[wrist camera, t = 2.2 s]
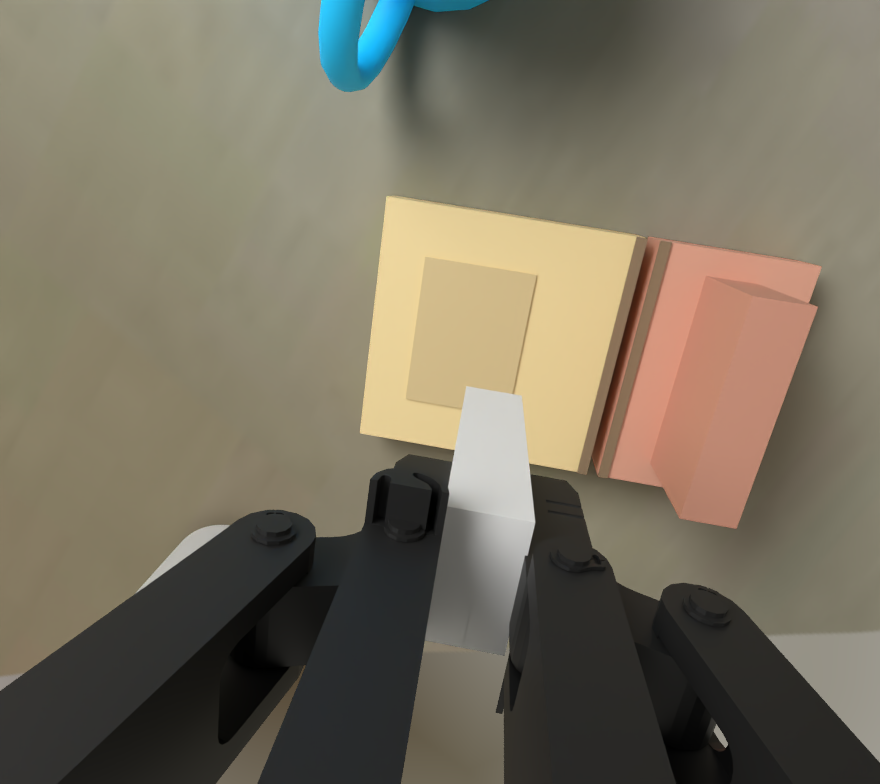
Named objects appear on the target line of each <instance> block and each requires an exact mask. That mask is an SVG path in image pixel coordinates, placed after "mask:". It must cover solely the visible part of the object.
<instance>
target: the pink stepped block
mask: <svg viewBox="0 0 880 784" xmlns="http://www.w3.org/2000/svg"><path fill="white" fill-rule="evenodd" d="M821 268H822V266H818V265H814V264H810V263H806V262H802V261H798V260H792V259H786V258H780V257H773V256H767V255H761V254H755V253H749V252H742V251H736V250H730V249H724V248H717V247H711V246H705V245H699V244H693V243H686V242H680V241H674V240H668V239H662V238H655V237H649V236H648V241H647V244H646V248H645V252H644V256H643V260H642V264H641V267H640V271H639V275H638V279H637V283H636V287H635V291H634V294H633V298H632V302H631V306H630V310H629V314H628V317H627V321H626V325H625V329H624V333H623V337H622V341H621V344H620V348H619V352H618V356H617V360H616V364H615V367H614V371H613V375H612V379H611V383H610V387H609V391H608V394H607V398H606V402H605V406H604V410H603V414H602V418H601V421H600V425H599V429H598V433H597V437H596V441H595V444H594V448H593V452H592V456H591V457H592V460H593V463H594V466H595V469H596V472H597V475H598V477H601V478H614V479H619V480H625V481H630V482H636V483H642V484H647V485H653V486H658V487H663V488H664V490H665V492H666V494H667V496H668V498H669V499H670V501H671V503H672V505H673V507H674V509H675V511H676V512H677V514H678V516H679V518H680V519H685V520H691V521H696V522H702V523H707V524H713V525H718V526H724V527H729V528H735V529H737V526H738V524H739V521H740V518H741V515H742V513H743V510H744V507H745V504H746V502H747V499H748V496H749V494H750V491H751V488H752V485H753V483H754V480H755V477H756V475H757V472H758V469H759V466H760V464H761V461H762V458H763V455H764V453H765V450H766V447H767V445H768V442H769V439H770V436H771V434H772V431H773V428H774V426H775V423H776V420H777V417H778V415H779V412H780V409H781V406H782V404H783V401H784V398H785V396H786V393H787V390H788V387H789V385H790V382H791V379H792V377H793V374H794V371H795V368H796V366H797V363H798V360H799V357H800V355H801V352H802V349H803V347H804V344H805V341H806V338H807V336H808V333H809V330H810V328H811V325H812V322H813V319H814V317H815V314H816V311H817V309H818V307H817V306H814V305H812V304H809V301H810V298H811V296H812V293H813V290H814V287H815V285H816V282H817V279H818V276H819V274H820V271H821Z"/></svg>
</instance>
